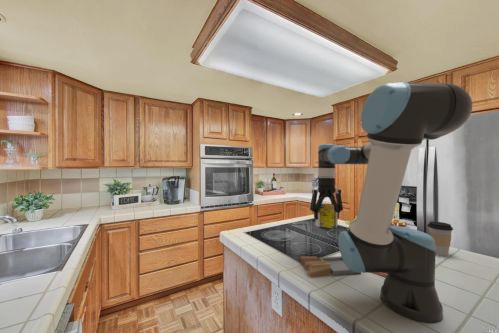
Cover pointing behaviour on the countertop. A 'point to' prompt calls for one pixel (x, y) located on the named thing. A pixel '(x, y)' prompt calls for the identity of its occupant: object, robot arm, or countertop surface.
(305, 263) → the brown wooden block
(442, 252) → the coffee cup
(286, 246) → the countertop surface
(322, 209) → the supplement box
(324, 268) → the block
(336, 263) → the tray
